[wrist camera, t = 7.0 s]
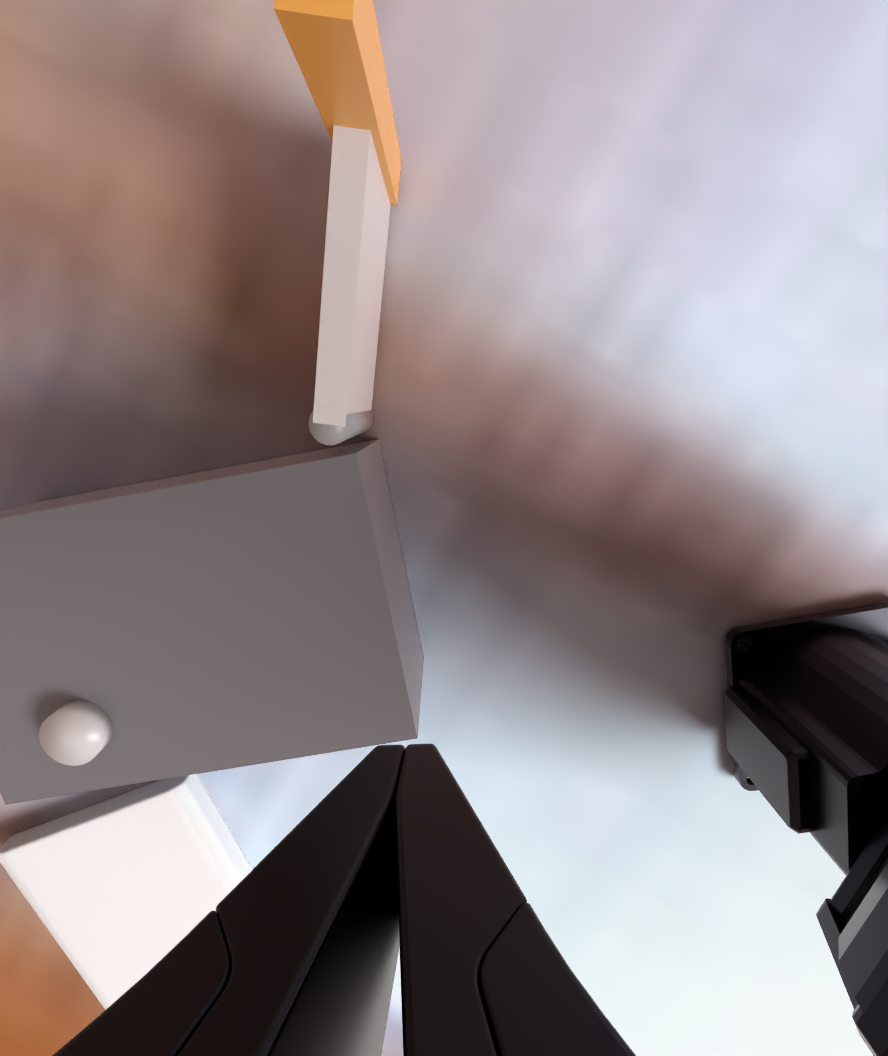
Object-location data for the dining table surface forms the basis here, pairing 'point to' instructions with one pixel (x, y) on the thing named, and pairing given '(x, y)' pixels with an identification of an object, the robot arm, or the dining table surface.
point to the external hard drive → (127, 877)
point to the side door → (348, 200)
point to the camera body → (204, 624)
